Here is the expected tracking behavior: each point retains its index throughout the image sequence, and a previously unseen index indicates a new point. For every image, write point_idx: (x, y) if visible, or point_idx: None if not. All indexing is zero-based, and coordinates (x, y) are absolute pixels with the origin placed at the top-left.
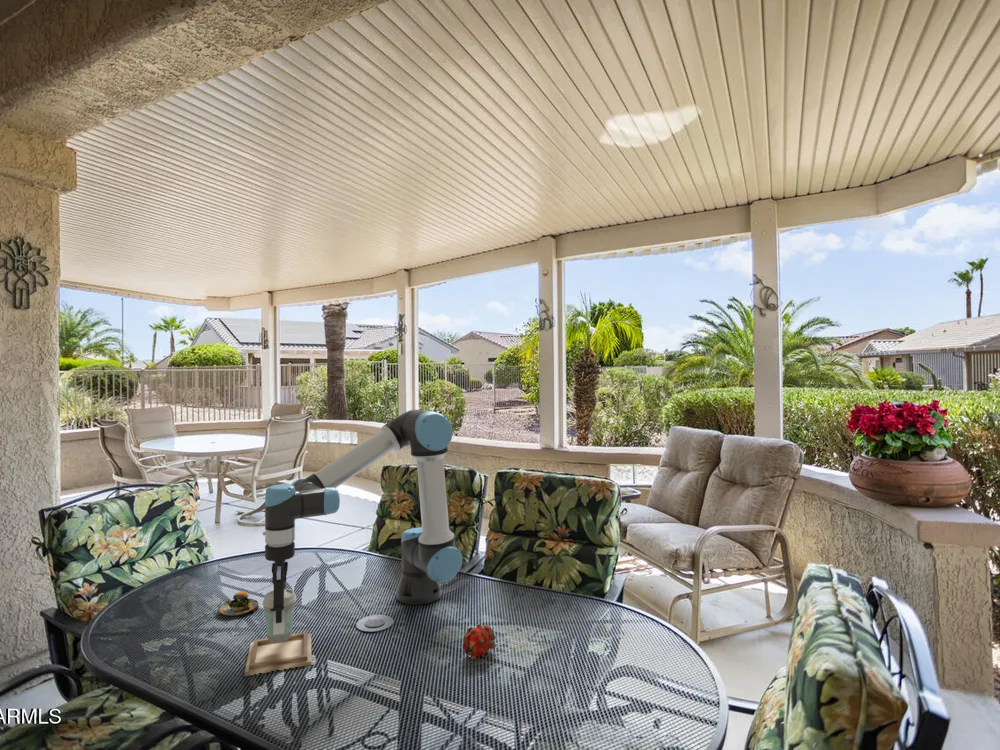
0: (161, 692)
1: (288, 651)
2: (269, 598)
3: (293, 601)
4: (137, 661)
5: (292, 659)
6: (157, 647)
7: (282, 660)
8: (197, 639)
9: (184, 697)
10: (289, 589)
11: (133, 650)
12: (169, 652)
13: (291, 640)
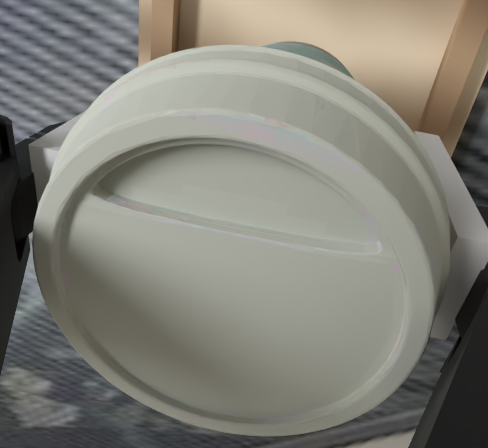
0: (341, 433)
1: (319, 45)
2: (285, 406)
3: (385, 118)
4: (127, 443)
5: (477, 45)
6: (59, 406)
7: (455, 104)
8: (32, 328)
9: (417, 402)
10: (87, 164)
11: (61, 441)
12: (100, 391)
13: (190, 8)
